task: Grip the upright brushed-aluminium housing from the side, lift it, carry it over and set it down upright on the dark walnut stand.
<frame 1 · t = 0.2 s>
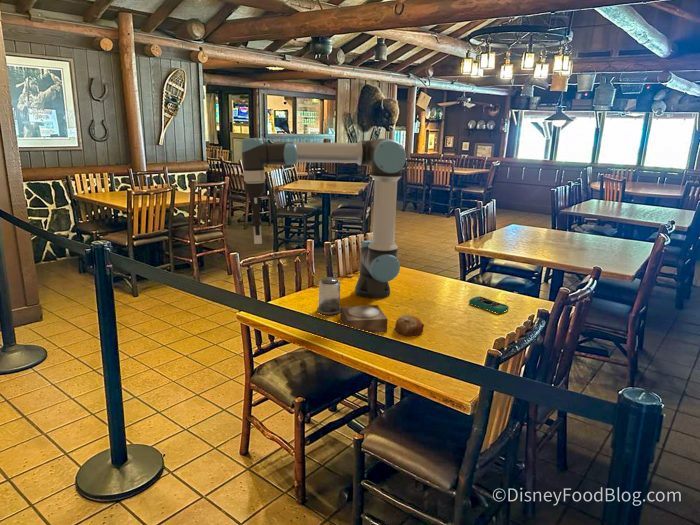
hand: (258, 239, 186), 27 cm above the table, tool pointing down, fingers open, 13 cm apart
bread roll: (408, 332, 176), on the table
stand: (362, 325, 180), on the table
housing: (329, 311, 192), on the table
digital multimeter: (488, 308, 203), on the table
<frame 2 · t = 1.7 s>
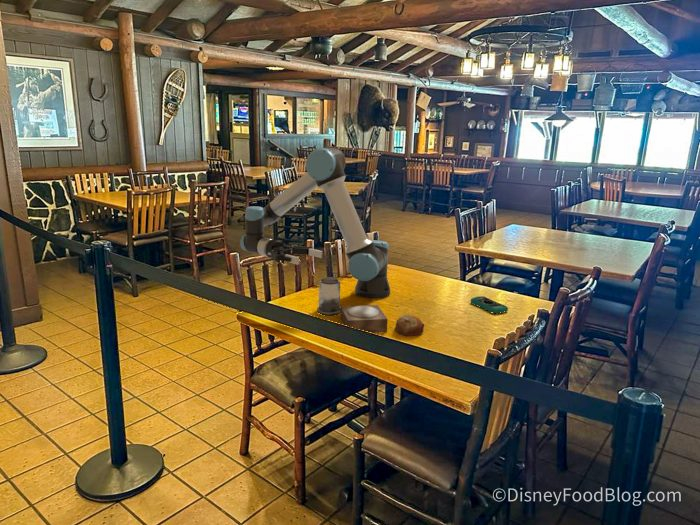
hand: (310, 257, 193), 20 cm above the table, tool horizontal, fingers open, 13 cm apart
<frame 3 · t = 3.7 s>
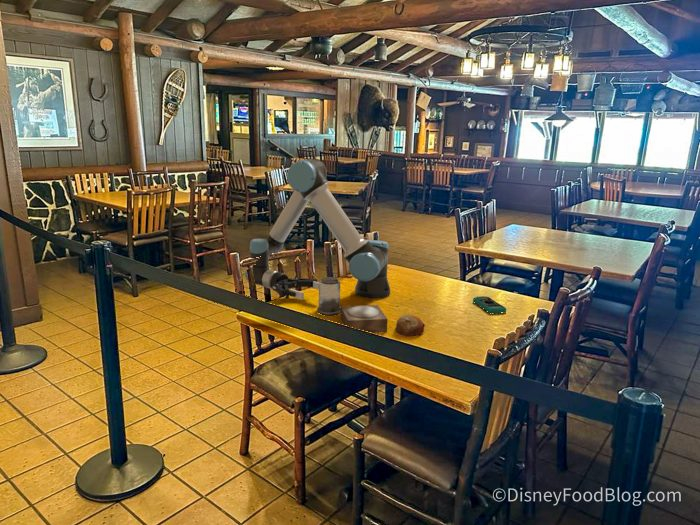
hand: (314, 292, 194), 6 cm above the table, tool horizontal, fingers open, 13 cm apart
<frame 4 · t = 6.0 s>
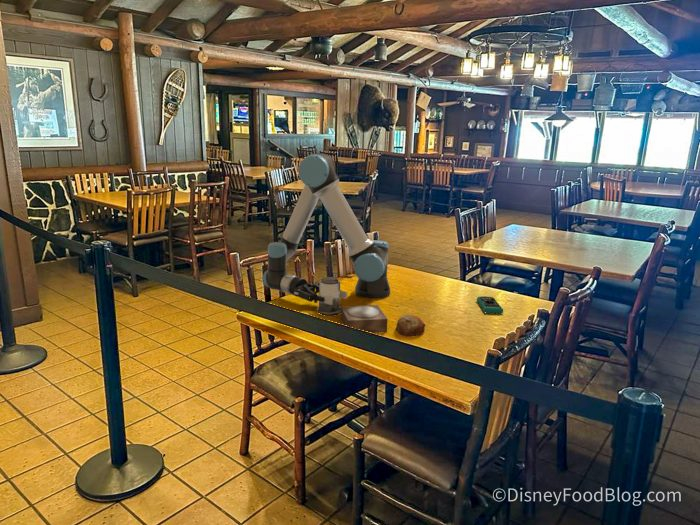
hand: (339, 298, 188), 7 cm above the table, tool horizontal, fingers closed on housing, 8 cm apart
housing: (329, 311, 192), on the table, touching gripper
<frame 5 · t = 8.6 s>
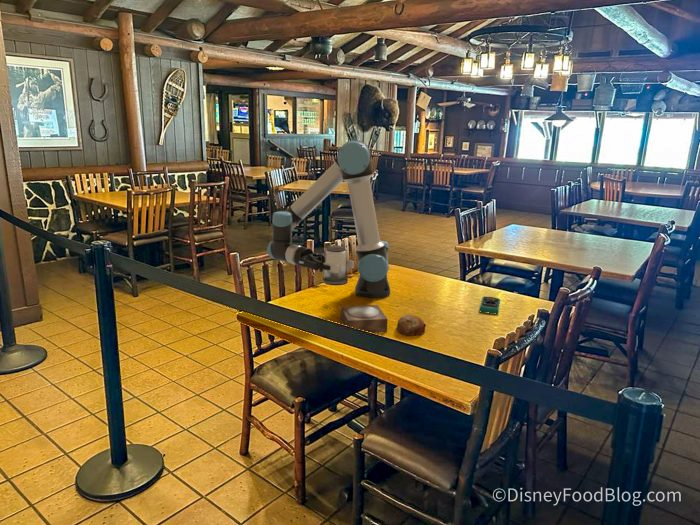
hand: (345, 267, 180), 20 cm above the table, tool horizontal, fingers closed on housing, 8 cm apart
housing: (335, 281, 185), point 13 cm above the table, touching gripper
when the fingers open (13 cm above the table, at t = 11.3 s): housing drops 2 cm, resting on stand.
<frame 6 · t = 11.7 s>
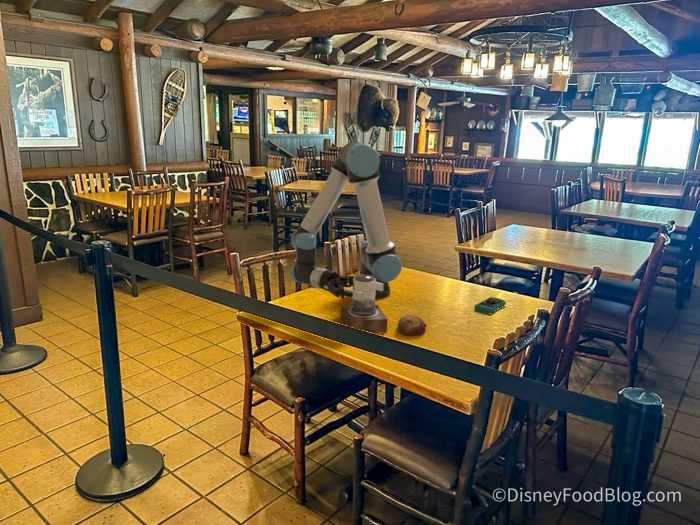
hand: (372, 291, 174), 13 cm above the table, tool horizontal, fingers open, 13 cm apart
housing: (363, 311, 179), point 5 cm above the table, touching stand
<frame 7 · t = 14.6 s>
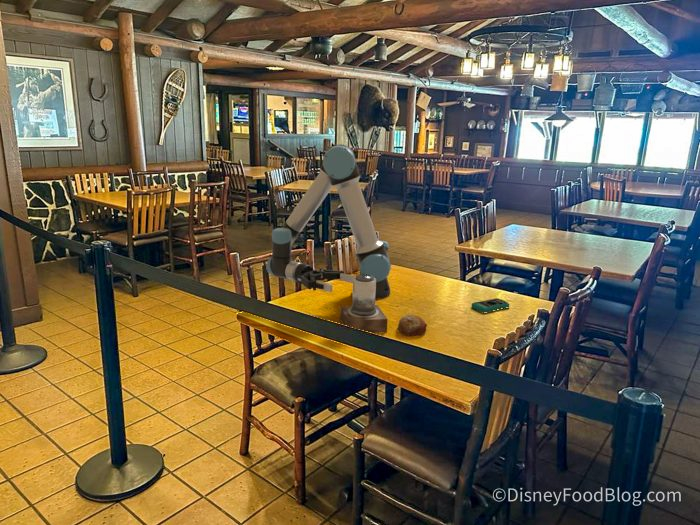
hand: (343, 284, 182), 14 cm above the table, tool horizontal, fingers open, 13 cm apart
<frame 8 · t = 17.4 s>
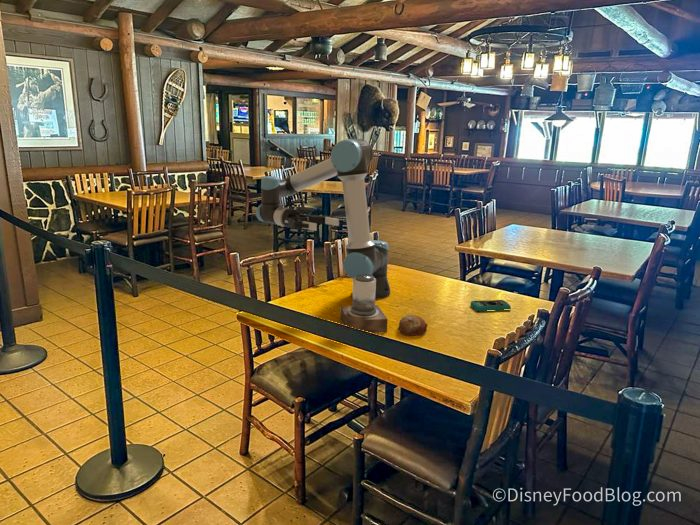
hand: (327, 224, 193), 32 cm above the table, tool horizontal, fingers open, 13 cm apart
at the end: housing inside the target area on the stand (0.1 cm from its centre), point 5.4 cm above the stand's base; housing tilted 0°; the gripper is holding nothing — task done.
